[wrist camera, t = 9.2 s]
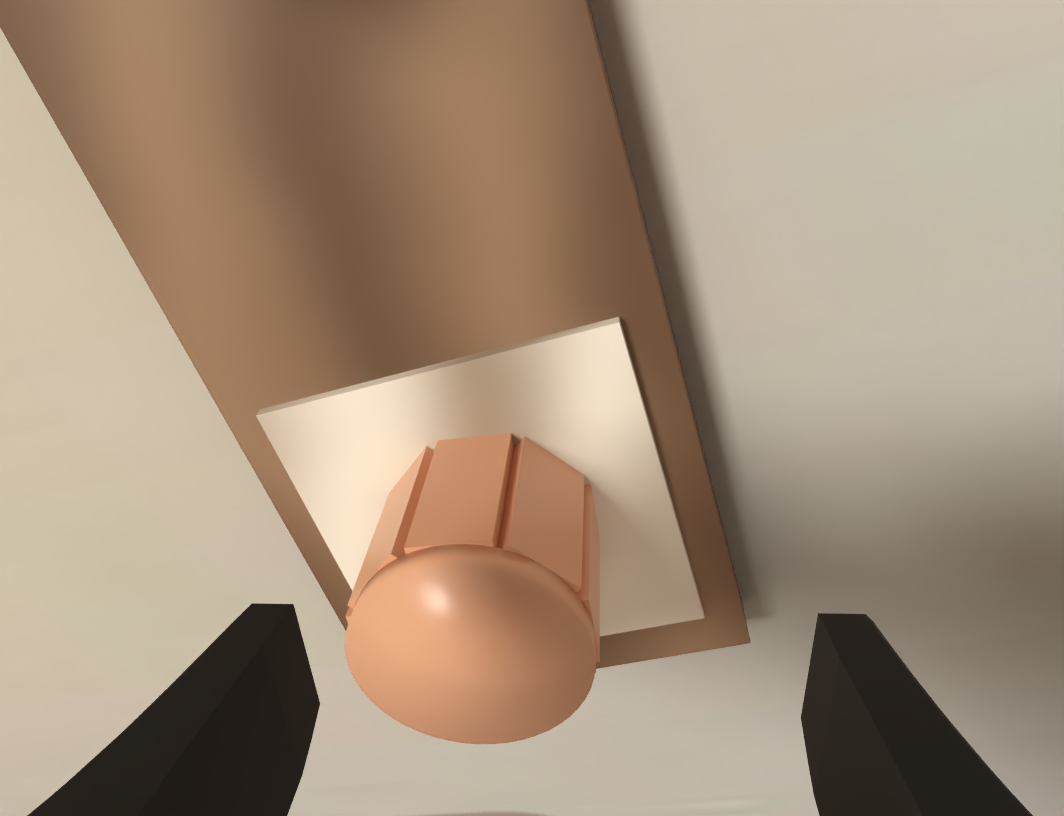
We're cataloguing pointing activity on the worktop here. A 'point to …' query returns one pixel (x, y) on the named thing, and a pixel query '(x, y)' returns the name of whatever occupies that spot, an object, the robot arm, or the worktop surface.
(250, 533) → the worktop surface
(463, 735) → the cap
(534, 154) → the board
